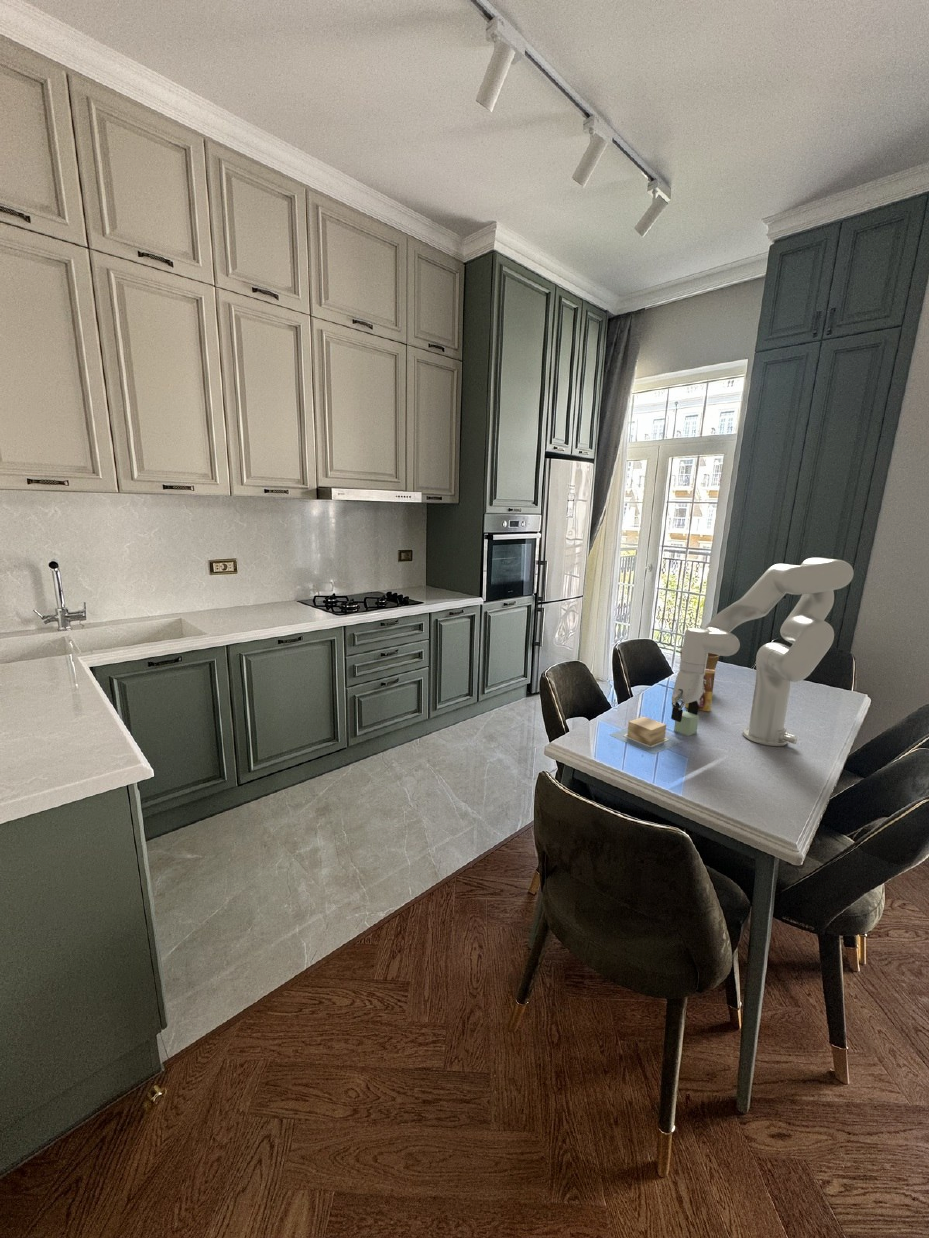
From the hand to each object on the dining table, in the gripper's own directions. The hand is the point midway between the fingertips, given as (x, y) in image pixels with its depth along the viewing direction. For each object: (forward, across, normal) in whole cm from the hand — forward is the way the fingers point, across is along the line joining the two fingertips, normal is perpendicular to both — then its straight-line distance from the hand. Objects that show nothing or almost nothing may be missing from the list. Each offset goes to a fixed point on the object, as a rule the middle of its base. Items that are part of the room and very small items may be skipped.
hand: (684, 717), depth 164 cm
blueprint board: (+6, +15, -3) cm, 17 cm away
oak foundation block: (+5, +15, -3) cm, 16 cm away
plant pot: (+5, -51, -23) cm, 56 cm away
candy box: (+6, -29, -10) cm, 31 cm away
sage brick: (+6, -1, +1) cm, 6 cm away
